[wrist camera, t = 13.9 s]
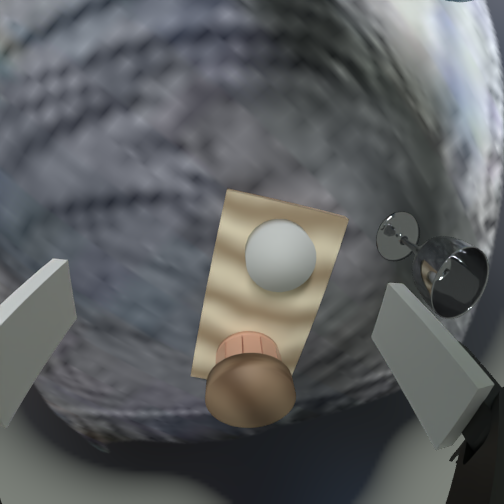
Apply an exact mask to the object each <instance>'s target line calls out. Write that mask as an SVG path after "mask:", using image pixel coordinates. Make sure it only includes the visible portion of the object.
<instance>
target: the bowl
mask: <svg viewBox="0 0 504 504" xmlns="http://www.w3.org/2000/svg"><path fill="white" fill-rule="evenodd" d="M241 353H261V354H266V355H270V356H272V357H275V358H277V359H278V360H280V361H281V362H282V359H281V354H280V353H279V349H278V346H277V344H276V343H275V342H274V341H273V339H271V338H270V337H269V336H267V335H265V334H263V333H260V332H255V331H242V332H238V333H234V334H232V335H230V336H228V337H227V338H225V339H224V340H223V341H222V342H221V343H220V345H219V347H218V349H217V352H216V364H217V363H219V362H220V361H222V360H223V359H225V358H227V357H230V356H233V355H236V354H241Z"/></svg>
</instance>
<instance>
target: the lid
mask: <svg viewBox="0 0 504 504" xmlns="http://www.w3.org/2000/svg"><path fill="white" fill-rule="evenodd" d="M295 400H296V393H295V388H294V384H293V380H292V375H291V372H290V370H289V369H288V367H287V366H286V365H285V364H284V363H283V362H281V361H280V360H278V359H277V358H275V357H272V356H270V355H266V354H261V353H241V354H236V355H233V356H230V357H227V358H225V359H223V360H222V361H220V362H219V363H217V364H216V365H215V366H214V367H213V368H212V369H211V371H210V372H209V374H208V377H207V383H206V396H205V402H206V406H207V408H208V410H209V412H210V413H211V414H212V415H213V416H214V417H215V418H216V419H218V420H220V421H221V422H223V423H226V424H228V425H231V426H236V427H243V428H253V427H261V426H265V425H269V424H271V423H274V422H276V421H278V420H280V419H281V418H283V417H284V416H286V415H287V414H288V413H289V412H290V410H291V409H292V407H293V406H294V403H295Z"/></svg>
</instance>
